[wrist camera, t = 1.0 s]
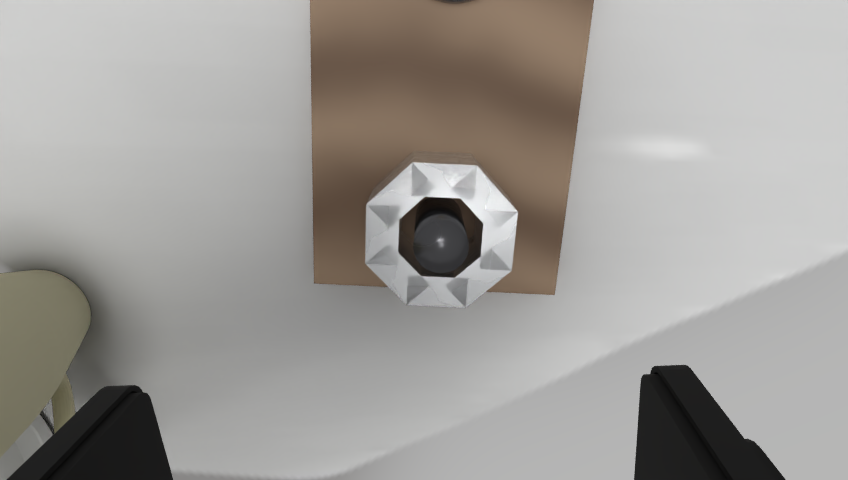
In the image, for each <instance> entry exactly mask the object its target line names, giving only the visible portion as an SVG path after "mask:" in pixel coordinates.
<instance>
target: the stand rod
mask: <svg viewBox="0 0 848 480" xmlns="http://www.w3.org/2000/svg"><path fill="white" fill-rule="evenodd" d="M413 250H414V255H415V257H416V259H417V261H418V262H419V264H420V265H421V266H422V267H424V268H425V269H427V270H429V271H431V272H435V273H447V272H451V271H453V270H455V269H457V268H458V267H459V266H460V265H461V264H462V263H463V262H464V261H465V259H466V257H467V254H468V250H469V243H468V238H467V234H466V230H465V225H464V221H463V217H462V213H461V210H460V207H459V206H458V204H457V203H456V202H455V201H454V200H453V199H451V198H443V197H429V198H427V199H425V200H424V201H423V202H422V203H421V204H420V205H419V207H418V209H417V212H416V218H415V231H414V243H413Z"/></svg>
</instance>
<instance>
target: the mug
mask: <svg viewBox="0 0 848 480" xmlns="http://www.w3.org/2000/svg"><path fill="white" fill-rule="evenodd" d="M90 322H91V310H90V306H89V303H88V301H87V299H86V297H85V295H84V294H83V292H82V291H81V290H80V289H79V287H78V286H77V285H76V284H74V283H73V282H72V281H71V280H69V279H68V278H66V277H64V276H63V275H60V274H58V273H55V272H52V271H47V270H29V271H18V272H8V273H0V458H1V457H2V455H3V454H4V453H5V452H6V451H7V450H8V449H9V448H10V446H11V445H12V444H13V443H14V442H15V441H16V440H17V439H18V438H19V437H20V435H21V434H22V433H23V432H24V431H25V430H26V429H27V428H28V427H29V426H30V424H31V423H32V422H33V421H34V420H35V418H36V417H37V416H38V415H39V414H40V412H41V411H42V410H43V409H44V407H45V406H46V405H47V403H48V402H49V400H50V399H51V398H52V406H53V419H54V434H55V433H56V432H57V431H58V430H59V429H60V428H61V427H62V426H63V425H64V424H65V423H66V422H67V421H68V420H69V419H70V418H71V417H72V416H73V415H74V414H75V407H74V399H73V394H72V388H71V385H70V382H69V379H68V377H67V375H66V372H67V370H68V368H69V366H70V364H71V362H72V360H73V358H74V356H75V354H76V352H77V350H78V348H79V347H80V345H81V343H82V341H83V339H84V337H85V335H86V333H87V331H88V329H89V326H90Z"/></svg>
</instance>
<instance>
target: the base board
mask: <svg viewBox="0 0 848 480" xmlns="http://www.w3.org/2000/svg"><path fill="white" fill-rule="evenodd" d="M593 3H594V0H473V1H470V2H466V3H459V4H450V3H443V2H439V1H436V0H310V30H311V101H312V173H313V244H314V283H317V284H338V285H359V286H379V287H388V286H387V285H386V284H385V283H384V282H383V281H382V280H381V279H380V278H379V277H378V276H377V275H376V274H375V273H374V272H373V271H372V270H371V269H370V268H369V267H368V266H367V265H366V264H365V245H366V204H367V202H368V199H369V197H370V195H371V193H372V190H373V188H374V187H375V186H376V185H377V184H378V183H380V182H381V181H382V180H383V179H384V178H385V177H386V176H387V175H388V174H389V173H390V172H392V171H393V170H394V169H395V168H396V167H397V166H398V165H399V164H400V163H401V162H403V161H404V160H405V159H406V158H407V157H408V156H409V155H410V154H411V153H412V152H413V151H433V152H453V153H471V154H472V155H473V156H474V157H475V159H476V160H477V161H478V162H479V163H480V164H481V165H482V167H483V168H484V169H485V170H486V171H487V172H488V173H489V175H490V176H491V177H492V178H493V179H494V180H495V181H496V183H497V184H498V185H499V186H500V187H501V188H502V189H503V190H504V192H505V193H506V194H507V195H508V197H509V198H510V200H511V202H512V203H513V205H514V206H515V208H516V210H517V211H518V216H517V226H516V235H515V245H514V254H513V264H512V271H511V272H510V273H508V274H507V275H506V276H505V277H503V278H502V279H501V280H500V281H498V282H497V283H496V284H495V285H493V286H492V287H491V288H490V289H488V290H487V291H486V292H505V293H526V294H546V295H555V288H556V280H557V273H558V265H559V258H560V250H561V243H562V235H563V228H564V220H565V213H566V206H567V198H568V191H569V183H570V176H571V168H572V161H573V153H574V146H575V138H576V131H577V123H578V116H579V108H580V101H581V93H582V86H583V78H584V71H585V63H586V56H587V48H588V41H589V33H590V26H591V18H592V11H593ZM427 198H429V197H424V198H423V199H422V200H421V201H420V202H419V203H417V204H416V205H415V206H414V207H413V208H412V209H411V210H409V211H408V212H407V213H406V214H405V215H404V216H403V217H402V232H403V233H404V234H405V235H406V236H407V237H408V238H409V239H410V240H411V241H412V242H413V243H414V231H415V218H416V212H417V209H418V207H419V205H420V204H421V203H422V202H423V201H424V200H425V199H427ZM451 199H453V200H454V201H455V202H456V203H457V204H458V206H459V207H460V210H461V213H462V217H463V221H464V225H465V230H466V234H467V238H468V239H469V238H470V237H471V236H473V235H474V232H475V219H476V215H475V214H474V213H473V212H472V211H471V209H470V208H469V207H468V206H467V205H466V204H465V203H464V202H463V201H462V199H461V198H451Z"/></svg>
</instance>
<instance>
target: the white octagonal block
mask: <svg viewBox="0 0 848 480" xmlns="http://www.w3.org/2000/svg"><path fill="white" fill-rule="evenodd" d="M424 197H443V198H461V199H462V201H463V202H464V203H465V204H466V205H467V206H468V207H469V208H470V209H471V211H472V212H473V213H474V214H475V215H476V219H475V232H474V235H473V236H471V237H470V238H469V239H468V243H469V250H468V254H467V257H466V259H465V261H464V262H463V263H462V264H461V265H460V266H459V267H458V268H457V269H455V270H453V271H451V272H447V273H435V272H431V271H429V270H427V269H425V268H424V267H422V266H421V265H420V264H419V262H418V261H417V259H416V257H415V255H414V250H413V242H412V241H411V240H410V239H409V238H408V237H407V236H406V235H405V234H404V233H403V232H402V217H403V216H404V215H405V214H406V213H407V212H408V211H409V210H411V209H412V208H413V207H414V206H415V205H416V204H417V203H419V202H420V201H421V200H422V199H423V198H424ZM517 216H518V211H517V210H516V208H515V206H514V205H513V203H512V202H511V200H510V198H509V197H508V195H507V194H506V193H505V192H504V190H503V189H502V188H501V187H500V186H499V185H498V184H497V183H496V181H495V180H494V179H493V178H492V177H491V176H490V175H489V173H488V172H487V171H486V170H485V169H484V168H483V167H482V165H481V164H480V163H479V162H478V161H477V160H476V159H475V157H474V156H473V155H472V154H471V153H453V152H433V151H413V152H412V153H411V154H410V155H409V156H408V157H407V158H406V159H405V160H404V161H403V162H401V163H400V164H399V165H398V166H397V167H396V168H395V169H394V170H393V171H392V172H390V173H389V174H388V175H387V176H386V177H385V178H384V179H383V180H382V181H381V182H380V183H378V184H377V185H376V186H375V187H374V188H373V190H372V193H371V195H370V197H369V199H368V202H367V204H366V245H365V264H366V265H367V266H368V267H369V268H370V269H371V270H372V271H373V272H374V273H375V274H376V275H377V276H378V277H379V278H380V279H381V280H382V281H383V282H384V283H385V284H386V285H387V286H388V287H389V288H390V289H391V290H392V291H393V292H394V293H395V294H396V295H397V296H398V297H399V298H400V299H401V300H402V301H403V302H404V303H405V304H406V305H416V306H437V307H458V308H466V307H467V306H469V305H470V304H471V303H472V302H474V301H475V300H476V299H477V298H479V297H480V296H481V295H482V294H484V293H485V292H486V291H487V290H488V289H490V288H491V287H492V286H493V285H495V284H496V283H497V282H498V281H500V280H501V279H502V278H503V277H505V276H506V275H507V274H508V273H510V272H511V271H512V264H513V254H514V245H515V235H516V226H517Z"/></svg>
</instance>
